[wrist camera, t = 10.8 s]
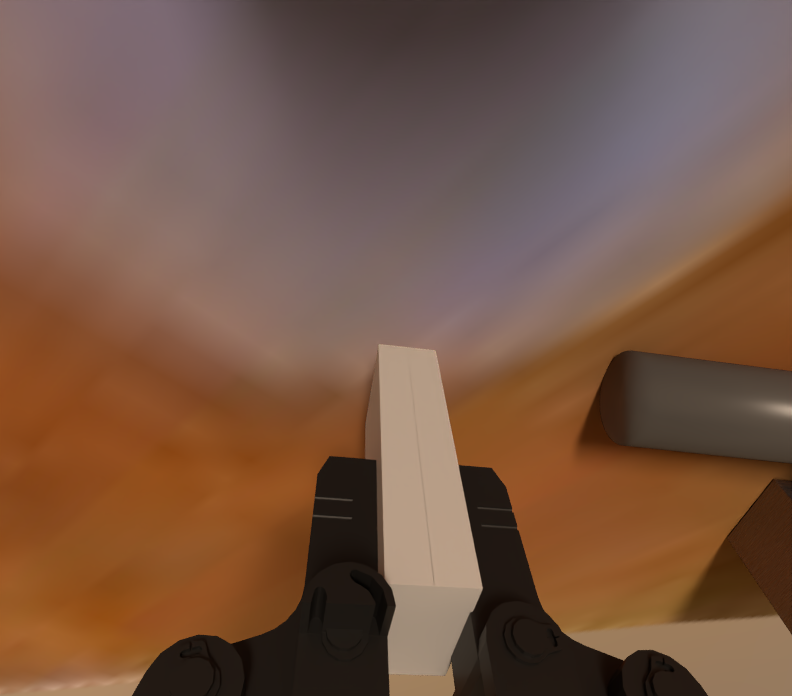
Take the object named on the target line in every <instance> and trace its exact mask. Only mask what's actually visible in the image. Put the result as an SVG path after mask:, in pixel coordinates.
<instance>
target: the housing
mask: <svg viewBox="0 0 792 696" xmlns="http://www.w3.org/2000/svg"><path fill="white" fill-rule="evenodd" d="M727 539H728V540H729V542H730V543H731V545H732V546H733V548H734V549H735V551H736V552H737V554H738V555H739V557H740V558H741V560H742V561H743V563H744V564H745V566H746V567H747V569H748V570H749V572H750V573H751V575H752V576H753V578H754V579H755V581H756V582H757V584H758V585H759V587H760V588H761V590H762V591H763V593H764V594H765V595H766V597H767V598H768V600H769V601H770V603H771V604H772V606H773V607H774V609H775V610H776V612H777V613H778V615H779V616H780V618H781V619H782V621H783V622H784V624H785V625H786V627H787V628H788V630H789V631H790V633H791V634H792V481H785V480H775V479H774V480H773V481H772V482H771V484H770V485H769V486H768V487H767V489H766V490H765V491H764V492H763V494H762V495H761V496H760V497H759V499H758V500H757V501H756V502H755V504H754V505H753V506H752V507H751V509H750V510H749V511H748V512H747V514H746V515H745V516H744V517H743V519H742V520H741V521H740V522H739V524H738V525H737V526H736V527H735V529H734V530H733V531H732V532H731V534H730V535H729V536H728V537H727Z"/></svg>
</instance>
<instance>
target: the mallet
mask: <svg viewBox="0 0 792 696" xmlns="http://www.w3.org/2000/svg"><path fill="white" fill-rule="evenodd" d="M600 414H601V419H602V423H603V426H604V429H605V431H606V433H607V434H608V436H609V437H610V439H611V440H612V441H614V442H615V443H617V444H619V445H624V446H633V447H643V448H652V449H661V450H671V451H680V452H689V453H699V454H708V455H717V456H727V457H736V458H745V459H755V460H764V461H773V462H783V463H792V371H785V370H778V369H770V368H762V367H754V366H746V365H739V364H731V363H723V362H715V361H707V360H700V359H692V358H684V357H676V356H669V355H661V354H653V353H645V352H637V351H625V352H622V353H620V354H619V355H617V356H616V357H615V358H614V360H613V361H612V362H611V363H610V365H609V367H608V369H607V371H606V373H605V375H604V378H603V382H602V386H601V392H600Z"/></svg>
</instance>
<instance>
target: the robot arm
mask: <svg viewBox="0 0 792 696" xmlns="http://www.w3.org/2000/svg"><path fill="white" fill-rule="evenodd" d="M451 662H452V669H453V677H454V684H455V692H454V694H453V696H708V695H707V694H706V692H705V691H704V689H703V688H702V687H701V685H700V684H699V683H698V682H697V681H696V680H695V678H694V677H693V676H692V675H691V674H690V673H689V671H688V670H687V669H686V668H685V667H683V666H682V665H680V664H679V663H678V662H676V661H675V660H674V659H672V658H671V657H669V656H667V655H664V654H662V653H659V652H656V651H654V650H638V651H636V652H635V653H633V654H632V655H630V656H628V657H627V658H626V659H625V660H624V661H623V660H621V659H618V658H615V657H613V656H610V655H607V654H605V653H602V652H600V651H597V650H595V649H592V648H589V647H587V646H584V645H582V644H580V643H578V642H576V641H574V640H572V639H571V638H570V637H568V636H567V635H566V634H564V633H563V632H562V631H561V629H560V627H559V626H558V625H557V624H556V623H555V622H554V621H553V620H552V618H551V617H550V616H549V615H548V614H547V613H545V611H544V610H543V608H542V606H541V603H540V601H539V598H538V596H537V592H536V589H535V585H534V582H533V578H532V575H531V572H530V568H529V565H528V561H527V558H526V554H525V551H524V548H523V544H522V541H521V537H520V534H519V531H518V530H517V523H516V520H515V517H514V513H512V506H511V503H510V499H509V496H508V493H507V489H506V487H505V485H504V484H503V483H502V481H501V480H500V479H499V477H498V476H497V475H496V473H495V472H494V471H493V469H492V468H486V467H474V466H462V465H458V461H457V456H456V451H455V446H454V441H453V436H452V431H451V426H450V421H449V416H448V411H447V406H446V401H445V396H444V391H443V386H442V381H441V375H440V370H439V365H438V360H437V355H436V350H428V349H419V348H409V347H400V346H391V345H382V344H378V351H377V357H376V363H375V369H374V375H373V381H372V387H371V393H370V399H369V405H368V411H367V418H366V424H365V459H358V458H346V457H333V456H329V458H328V459H327V461H326V462H325V464H324V465H323V467H322V468H321V470H320V471H319V473H318V475H317V484H316V492H315V501H314V510H313V519H312V527H311V536H310V545H309V553H308V562H307V571H306V579H305V587H304V591H303V595H302V599H301V601H300V603H299V604H298V606H297V608H296V610H295V611H294V612H293V614H292V615H291V616H290V617H289V618H288V619H287V620H286V621H285V622H284V623H282V624H281V625H279V626H278V627H277V628H275V629H273V630H271V631H269V632H266V633H264V634H262V635H259V636H255V637H252V638H249V639H246V640H242V641H239V642H236V643H233V644H230V643H228V642H226V641H225V640H223V639H221V638H219V637H218V636H208V635H196V636H193V637H189V638H186V639H183V640H179V641H178V642H176V643H175V644H173V645H172V646H170V647H169V648H167V649H166V650H165V651H163V652H162V653H160V655H159V656H158V657H157V658H156V660H155V661H154V662H153V663H152V665H151V666H150V667H149V668H148V670H147V671H146V673H145V674H144V676H143V678H142V679H141V681H140V683H139V685H138V686H137V688H136V690H135V691H134V693H133V695H132V696H389V674H397V675H432V676H445V675H446V673H447V671H448V668H449V666H450V664H451Z"/></svg>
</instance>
